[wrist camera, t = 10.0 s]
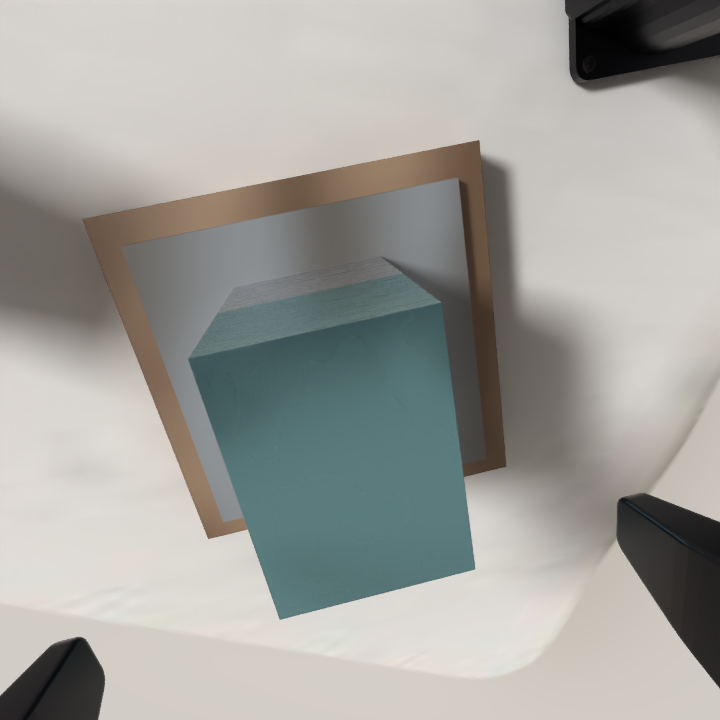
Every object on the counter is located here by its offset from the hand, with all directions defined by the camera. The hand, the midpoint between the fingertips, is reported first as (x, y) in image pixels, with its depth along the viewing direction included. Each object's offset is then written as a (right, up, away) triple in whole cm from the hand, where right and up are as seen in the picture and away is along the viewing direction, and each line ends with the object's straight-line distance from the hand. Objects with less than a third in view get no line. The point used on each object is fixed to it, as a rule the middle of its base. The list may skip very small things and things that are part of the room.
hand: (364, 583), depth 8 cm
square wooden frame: (-2, +4, +11) cm, 12 cm away
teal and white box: (-1, +3, +9) cm, 10 cm away
